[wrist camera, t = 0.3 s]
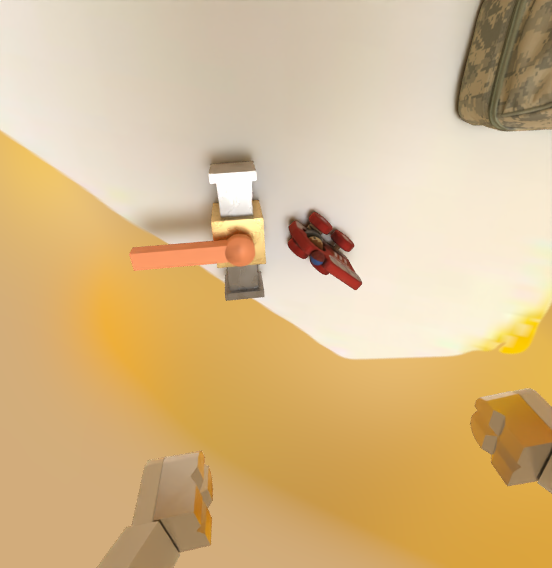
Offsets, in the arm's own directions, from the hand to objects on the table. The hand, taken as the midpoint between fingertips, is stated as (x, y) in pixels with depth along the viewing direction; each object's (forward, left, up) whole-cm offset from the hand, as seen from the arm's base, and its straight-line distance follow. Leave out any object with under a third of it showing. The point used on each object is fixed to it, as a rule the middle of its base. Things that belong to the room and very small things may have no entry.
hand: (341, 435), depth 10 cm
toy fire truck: (+15, +10, -46) cm, 50 cm away
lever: (+11, -9, -37) cm, 40 cm away
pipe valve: (+11, -3, -46) cm, 47 cm away
